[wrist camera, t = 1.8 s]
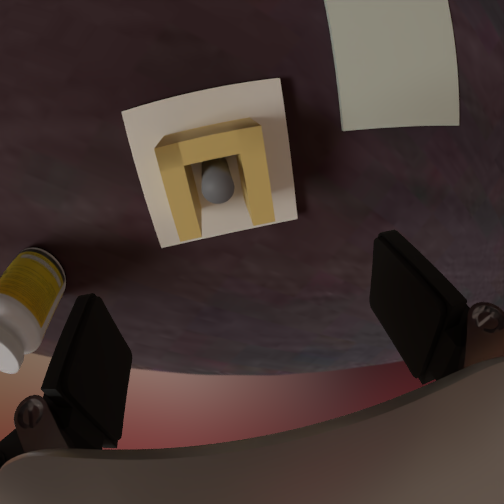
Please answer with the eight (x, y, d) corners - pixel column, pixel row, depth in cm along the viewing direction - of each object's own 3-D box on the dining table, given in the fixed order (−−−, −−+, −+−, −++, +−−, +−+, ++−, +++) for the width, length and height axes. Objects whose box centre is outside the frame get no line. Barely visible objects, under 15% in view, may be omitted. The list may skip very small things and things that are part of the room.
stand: (124, 110, 20) (98, 120, 15) (276, 78, 21) (302, 76, 15) (162, 242, 27) (154, 286, 21) (294, 214, 27) (318, 251, 22)
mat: (319, -22, 16) (321, -24, 16) (444, -1, 17) (447, -1, 17) (341, 130, 24) (343, 131, 24) (456, 124, 25) (459, 125, 24)
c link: (164, 135, 21) (154, 148, 17) (249, 117, 21) (261, 125, 17) (183, 212, 25) (180, 241, 20) (261, 195, 25) (275, 221, 21)
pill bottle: (26, 232, 24) (-34, 309, 14) (77, 267, 27) (35, 357, 17) (11, 275, 26) (-36, 351, 16) (56, 306, 29) (22, 390, 19)
